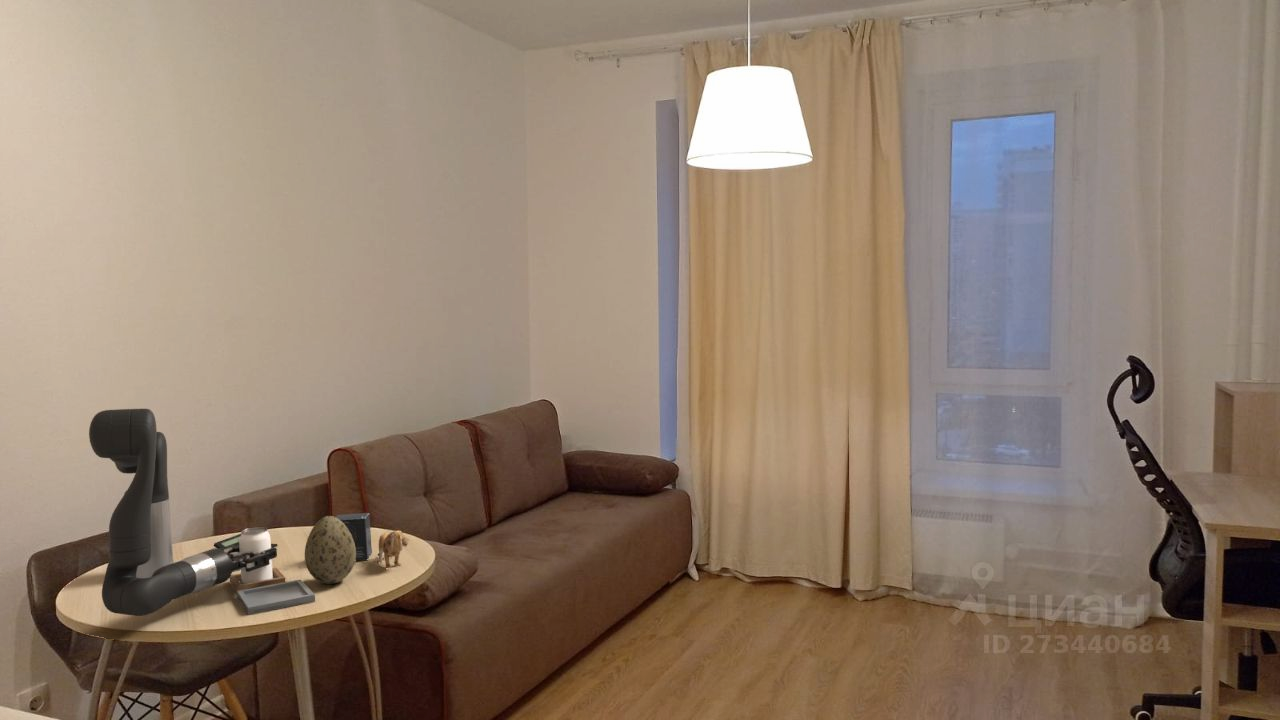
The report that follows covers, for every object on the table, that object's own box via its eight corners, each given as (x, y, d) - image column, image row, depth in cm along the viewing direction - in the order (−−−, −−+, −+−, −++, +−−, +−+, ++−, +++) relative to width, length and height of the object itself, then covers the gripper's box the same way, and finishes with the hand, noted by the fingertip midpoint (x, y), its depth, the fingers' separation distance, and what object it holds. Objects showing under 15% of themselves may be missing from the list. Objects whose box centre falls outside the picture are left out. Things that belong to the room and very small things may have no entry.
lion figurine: (413, 568, 214) (411, 530, 213) (391, 573, 211) (389, 534, 210) (388, 555, 225) (386, 519, 225) (366, 559, 222) (365, 523, 222)
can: (261, 588, 202) (258, 534, 201) (235, 587, 203) (232, 533, 202) (278, 579, 208) (275, 527, 207) (253, 578, 210) (250, 526, 209)
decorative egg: (333, 573, 212) (329, 509, 211) (367, 578, 207) (364, 513, 206) (295, 586, 202) (291, 519, 201) (330, 593, 197) (327, 524, 196)
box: (372, 554, 226) (369, 512, 226) (367, 561, 221) (365, 517, 220) (339, 556, 226) (337, 514, 225) (334, 563, 220) (331, 519, 219)
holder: (237, 593, 199) (236, 586, 199) (229, 581, 207) (229, 575, 207) (285, 584, 204) (285, 577, 204) (276, 573, 213) (275, 567, 213)
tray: (248, 614, 185) (248, 607, 185) (237, 597, 196) (237, 591, 196) (315, 601, 192) (314, 594, 192) (300, 586, 203) (300, 579, 203)
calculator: (251, 557, 228) (251, 545, 228) (213, 554, 232) (213, 543, 231) (277, 547, 237) (276, 535, 237) (240, 544, 241) (239, 533, 240)
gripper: (226, 556, 189) (284, 536, 204) (175, 550, 194) (236, 531, 209) (228, 592, 189) (286, 569, 204) (178, 585, 195) (238, 564, 210)
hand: (261, 550), depth 207 cm, fingers open, 8 cm apart
